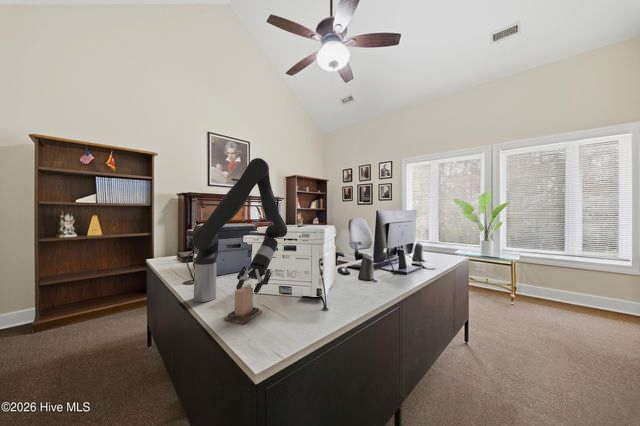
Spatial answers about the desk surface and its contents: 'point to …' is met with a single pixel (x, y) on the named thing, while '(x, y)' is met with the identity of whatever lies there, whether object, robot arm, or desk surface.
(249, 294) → the terracotta block
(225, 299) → the desk surface
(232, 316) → the walnut cradle
